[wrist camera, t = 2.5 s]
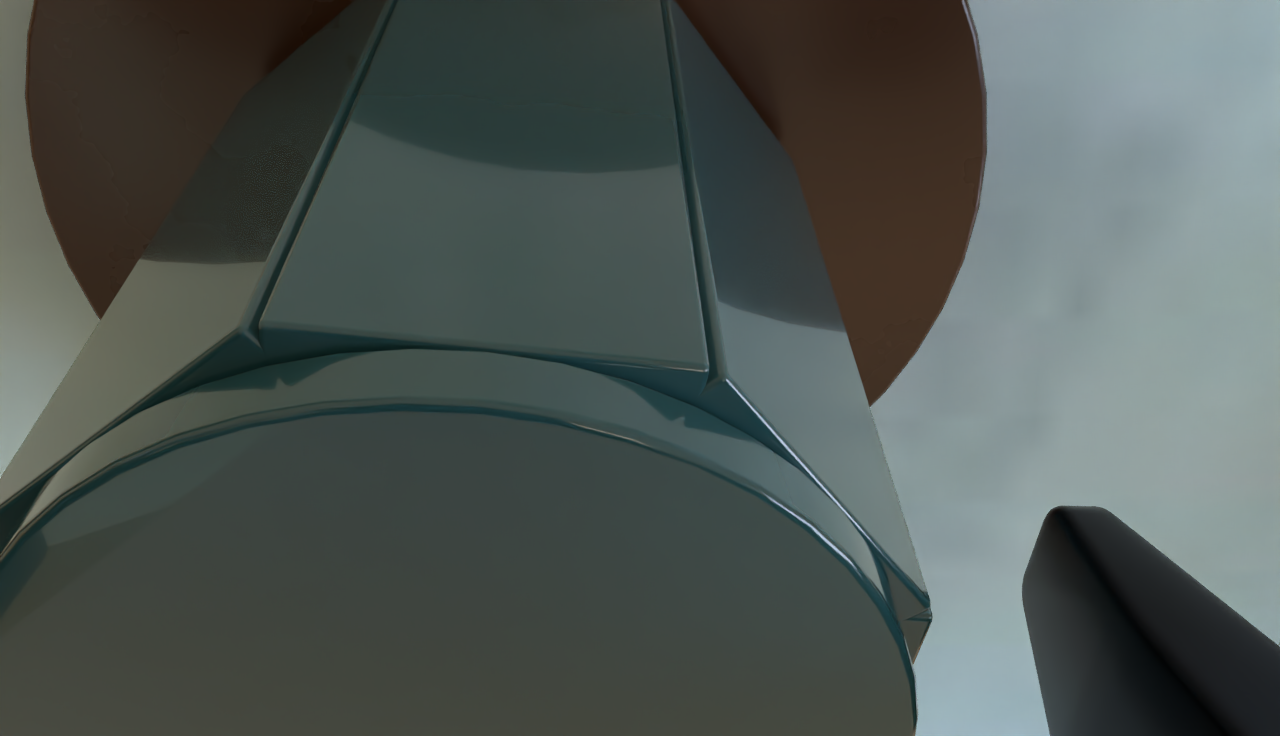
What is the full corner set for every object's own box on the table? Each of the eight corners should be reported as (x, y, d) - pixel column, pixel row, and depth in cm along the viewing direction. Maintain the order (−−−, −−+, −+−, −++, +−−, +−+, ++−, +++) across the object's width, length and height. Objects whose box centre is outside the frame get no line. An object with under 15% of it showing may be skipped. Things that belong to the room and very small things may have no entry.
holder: (1111, 240, 15) (1500, 771, 9) (483, 598, 19) (424, 1158, 12) (597, -652, 10) (597, -1035, 3) (-141, 96, 13) (-832, 622, 7)
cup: (875, 271, 13) (1076, 804, 8) (491, 504, 15) (429, 1064, 10) (552, -168, 10) (497, 178, 5) (130, 189, 12) (-256, 727, 7)
